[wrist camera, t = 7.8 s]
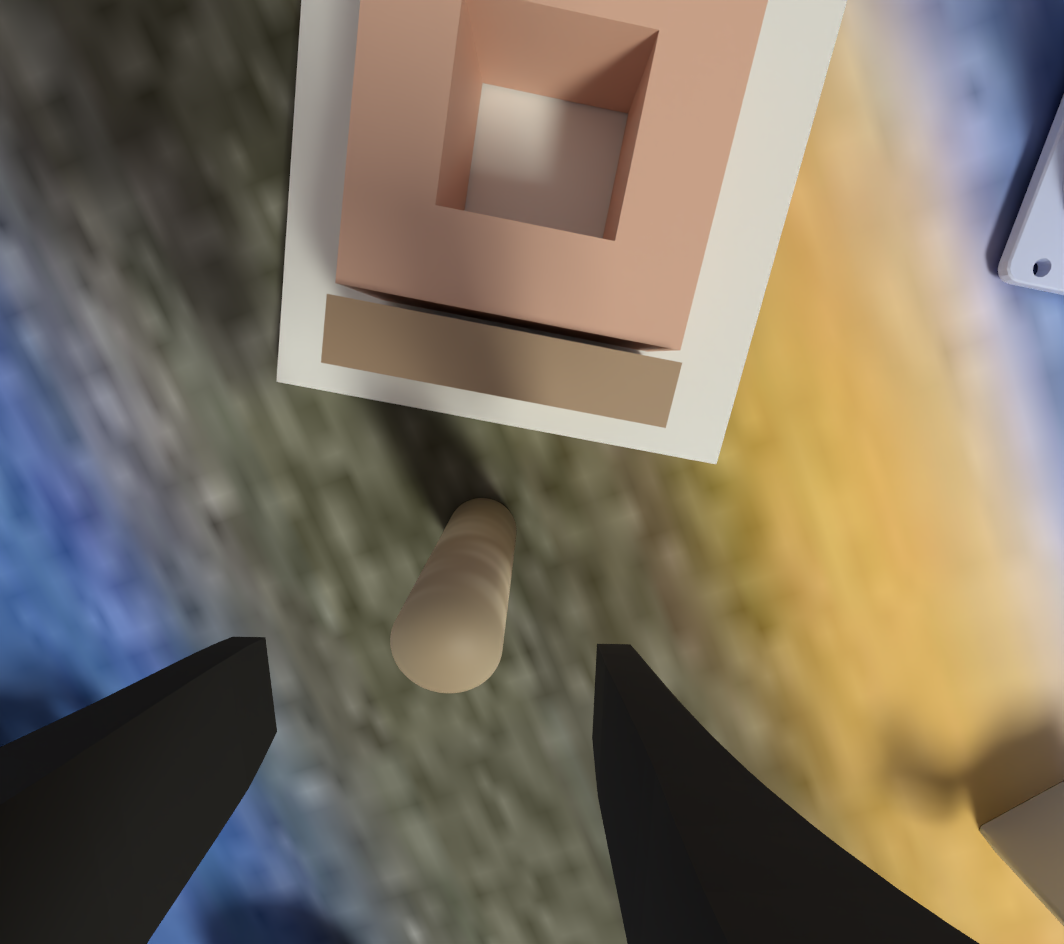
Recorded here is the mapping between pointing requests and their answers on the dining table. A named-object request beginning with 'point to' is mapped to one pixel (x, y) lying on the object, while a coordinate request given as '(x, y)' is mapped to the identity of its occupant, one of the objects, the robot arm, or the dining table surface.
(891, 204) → the dining table surface
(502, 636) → the dowel
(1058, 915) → the lighter
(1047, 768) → the dining table surface
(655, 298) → the sliding block
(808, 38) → the base board
